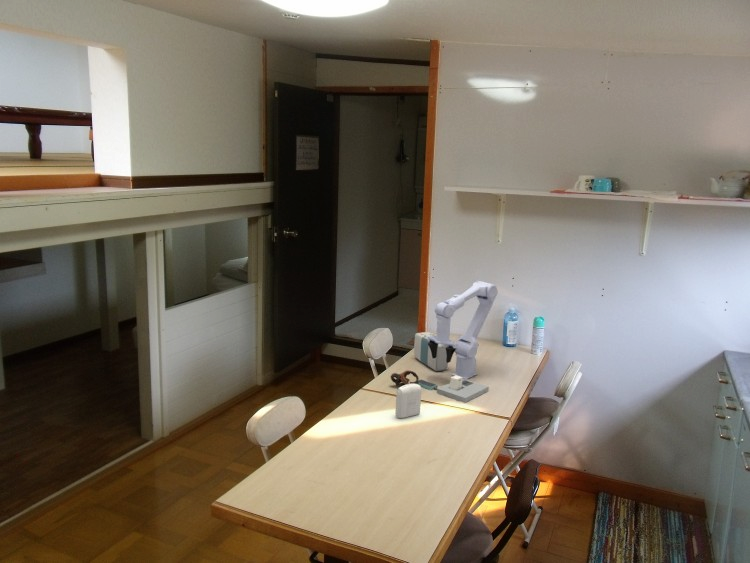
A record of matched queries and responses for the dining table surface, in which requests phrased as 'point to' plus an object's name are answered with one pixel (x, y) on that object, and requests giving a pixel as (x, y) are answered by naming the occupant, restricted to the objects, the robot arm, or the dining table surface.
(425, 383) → the phone with cable
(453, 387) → the charger plug
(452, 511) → the dining table surface
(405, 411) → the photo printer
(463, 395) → the outlet plate
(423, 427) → the dining table surface
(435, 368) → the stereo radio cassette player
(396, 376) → the brown curved looped piece
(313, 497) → the dining table surface
